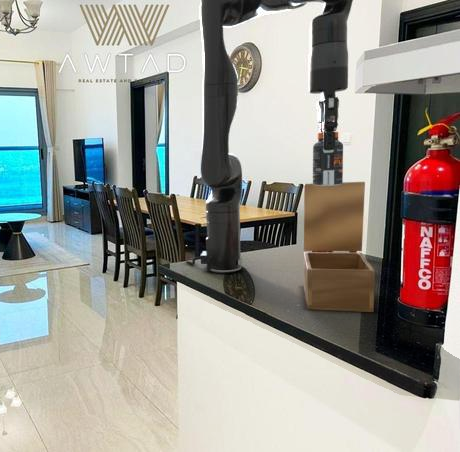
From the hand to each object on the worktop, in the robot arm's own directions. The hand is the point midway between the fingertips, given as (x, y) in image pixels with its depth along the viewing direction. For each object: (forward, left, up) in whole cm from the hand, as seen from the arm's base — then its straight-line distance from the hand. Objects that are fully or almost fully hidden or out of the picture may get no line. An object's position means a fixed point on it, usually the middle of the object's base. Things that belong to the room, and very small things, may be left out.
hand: (327, 149), depth 98 cm
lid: (+2, +6, -16) cm, 17 cm away
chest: (+2, 0, -33) cm, 33 cm away
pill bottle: (0, 0, -8) cm, 8 cm away
